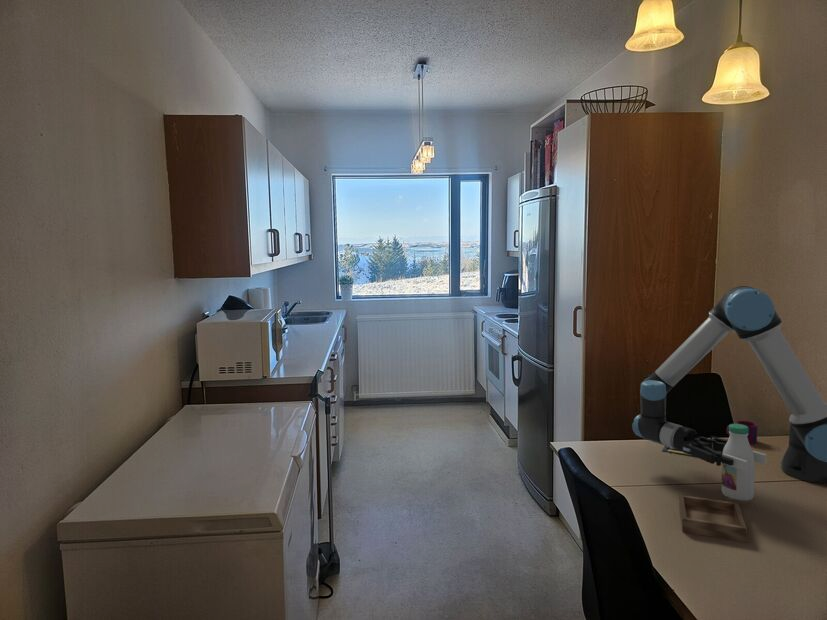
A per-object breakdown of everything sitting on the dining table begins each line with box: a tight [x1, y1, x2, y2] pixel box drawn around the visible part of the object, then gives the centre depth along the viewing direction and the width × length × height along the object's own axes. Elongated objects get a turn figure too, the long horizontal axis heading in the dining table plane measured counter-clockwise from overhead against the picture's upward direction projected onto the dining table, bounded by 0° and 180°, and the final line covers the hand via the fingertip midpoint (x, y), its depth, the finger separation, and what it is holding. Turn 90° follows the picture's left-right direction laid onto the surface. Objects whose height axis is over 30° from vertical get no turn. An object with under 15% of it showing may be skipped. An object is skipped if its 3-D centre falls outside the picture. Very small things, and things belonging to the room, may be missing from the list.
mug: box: [726, 420, 758, 445], centre depth 190 cm, size 7×10×7 cm
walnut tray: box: [678, 494, 748, 543], centre depth 135 cm, size 14×14×4 cm
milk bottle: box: [721, 423, 756, 502], centre depth 143 cm, size 8×8×20 cm
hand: (756, 462), depth 139 cm, fingers closed on milk bottle, 8 cm apart
